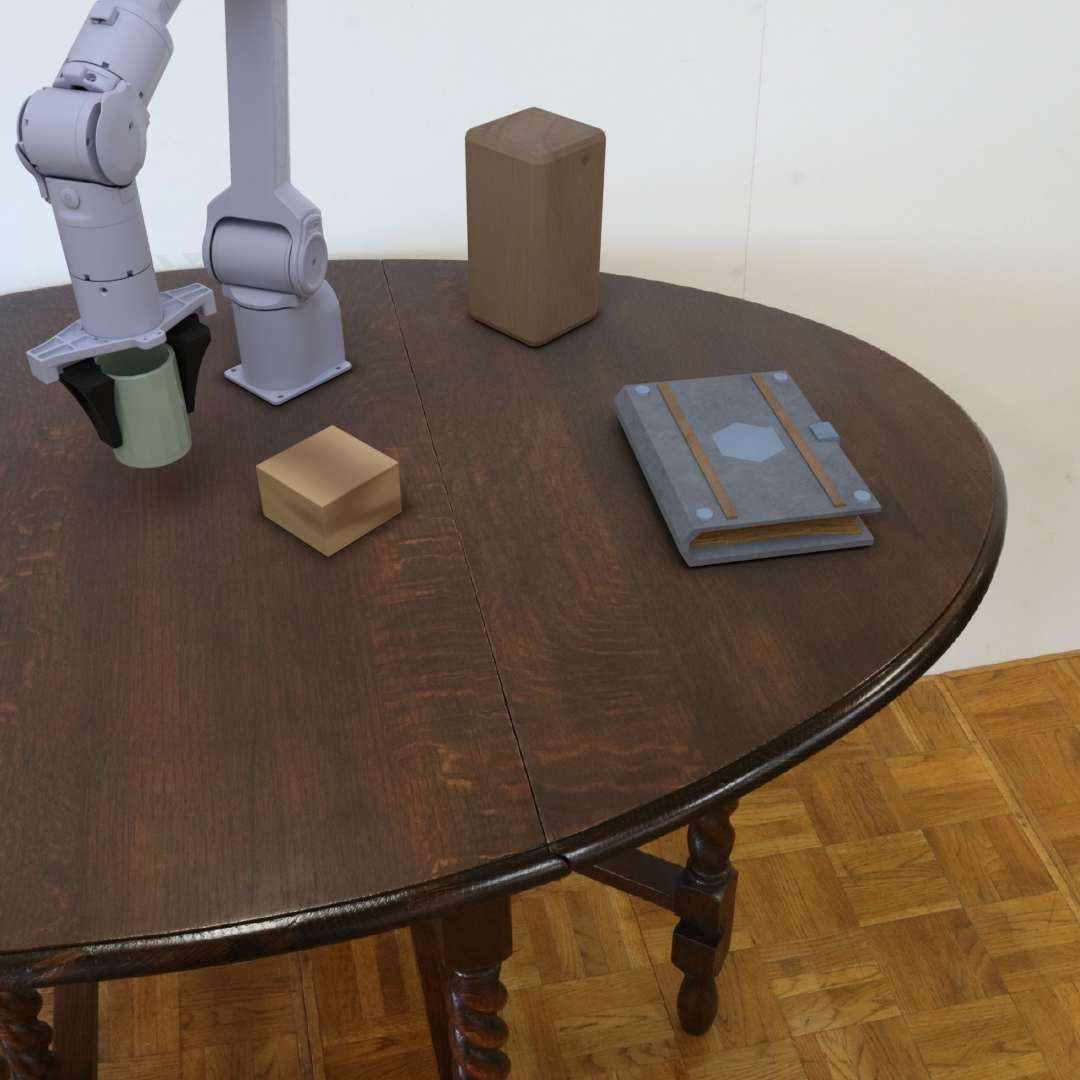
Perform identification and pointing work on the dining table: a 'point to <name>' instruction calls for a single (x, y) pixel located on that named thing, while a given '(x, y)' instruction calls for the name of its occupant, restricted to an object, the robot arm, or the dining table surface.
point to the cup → (148, 406)
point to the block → (330, 489)
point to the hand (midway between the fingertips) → (147, 425)
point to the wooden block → (534, 223)
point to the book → (744, 467)
